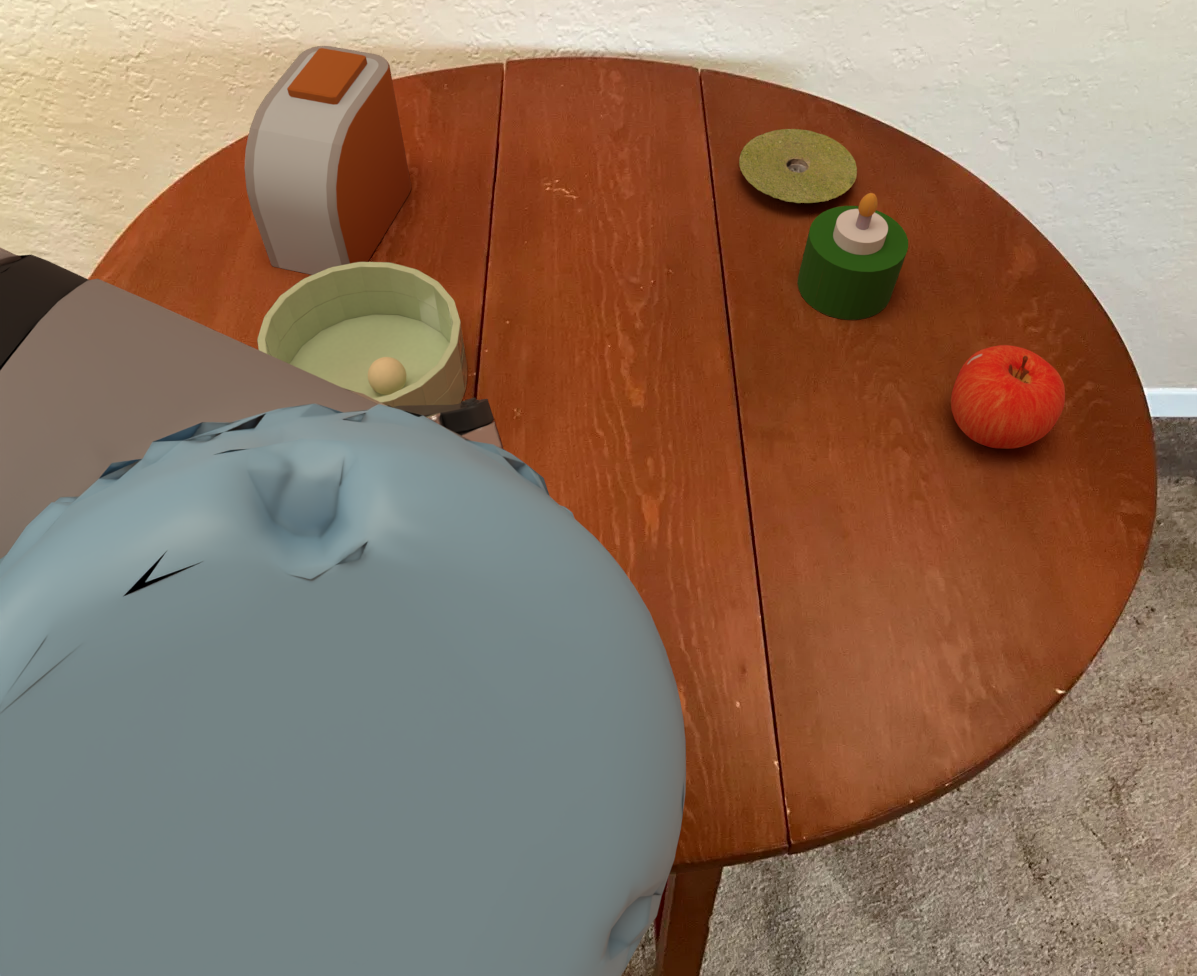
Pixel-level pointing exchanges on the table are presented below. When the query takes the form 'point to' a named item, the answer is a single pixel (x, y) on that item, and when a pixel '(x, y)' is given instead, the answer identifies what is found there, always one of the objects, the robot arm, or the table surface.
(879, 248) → the candle
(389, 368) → the dough ball
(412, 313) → the bowl
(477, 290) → the table surface
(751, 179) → the mat
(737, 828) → the table surface
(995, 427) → the apple
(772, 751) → the table surface
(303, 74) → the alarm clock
